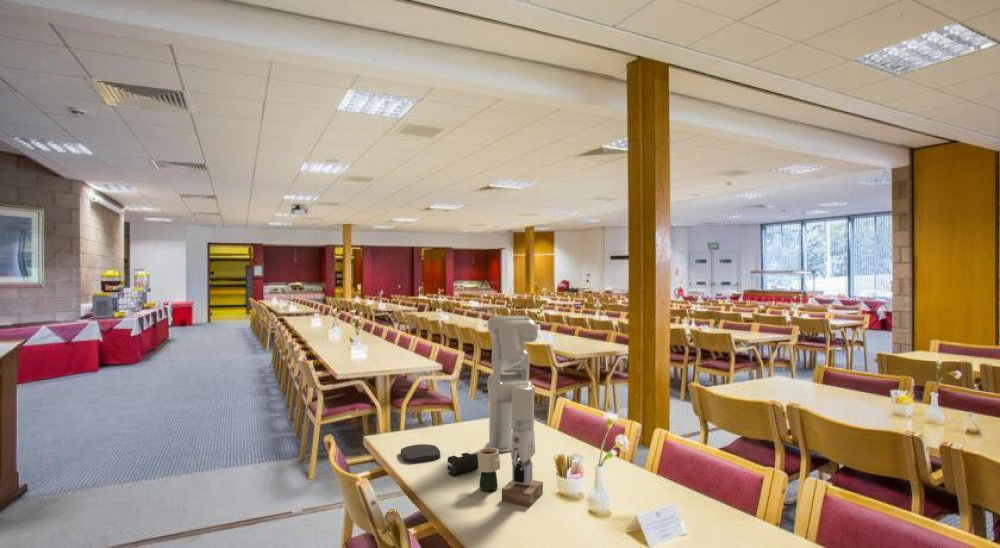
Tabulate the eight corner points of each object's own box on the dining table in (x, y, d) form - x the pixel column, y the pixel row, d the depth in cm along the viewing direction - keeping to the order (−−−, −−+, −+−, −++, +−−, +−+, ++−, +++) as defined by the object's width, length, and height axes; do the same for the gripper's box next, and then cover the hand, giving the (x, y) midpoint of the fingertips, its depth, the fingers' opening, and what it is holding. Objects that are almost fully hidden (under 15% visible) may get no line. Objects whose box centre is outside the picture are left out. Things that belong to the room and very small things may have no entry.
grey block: (532, 479, 175) (532, 461, 175) (526, 485, 171) (526, 466, 171) (518, 477, 177) (518, 459, 177) (512, 482, 173) (512, 464, 173)
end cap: (456, 480, 189) (456, 461, 189) (446, 474, 195) (446, 455, 195) (479, 473, 195) (479, 455, 195) (469, 468, 200) (469, 450, 200)
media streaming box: (442, 460, 209) (442, 452, 209) (405, 465, 204) (405, 457, 204) (433, 449, 223) (433, 441, 223) (399, 453, 218) (399, 446, 218)
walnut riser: (515, 488, 181) (515, 476, 181) (542, 493, 177) (542, 482, 177) (501, 501, 171) (501, 488, 171) (530, 507, 167) (530, 494, 167)
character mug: (507, 490, 179) (507, 452, 179) (491, 496, 175) (491, 457, 175) (485, 481, 187) (485, 444, 187) (470, 486, 183) (470, 449, 183)
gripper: (522, 432, 165) (522, 490, 165) (542, 418, 180) (542, 471, 180) (501, 429, 168) (501, 486, 168) (522, 416, 183) (522, 468, 183)
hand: (522, 478), depth 174 cm, fingers closed on grey block, 4 cm apart
